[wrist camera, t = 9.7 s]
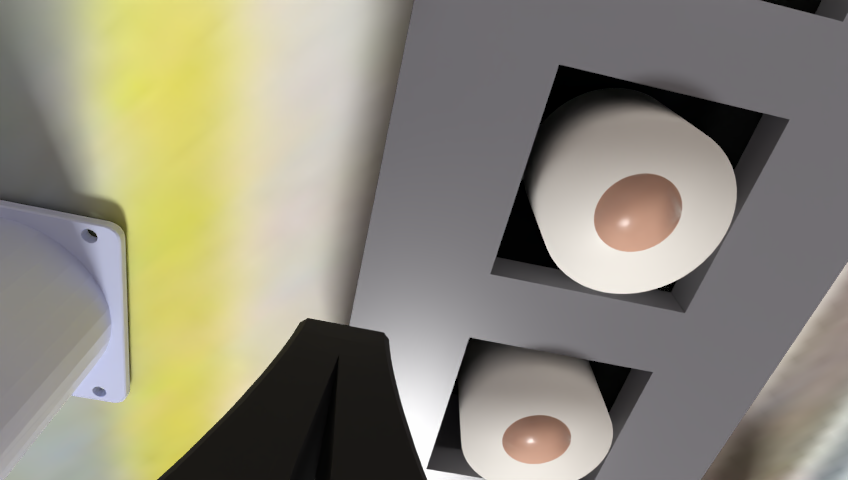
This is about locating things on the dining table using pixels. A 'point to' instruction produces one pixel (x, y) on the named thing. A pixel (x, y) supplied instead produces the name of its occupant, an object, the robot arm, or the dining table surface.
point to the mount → (551, 288)
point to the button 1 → (530, 414)
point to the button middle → (627, 191)
